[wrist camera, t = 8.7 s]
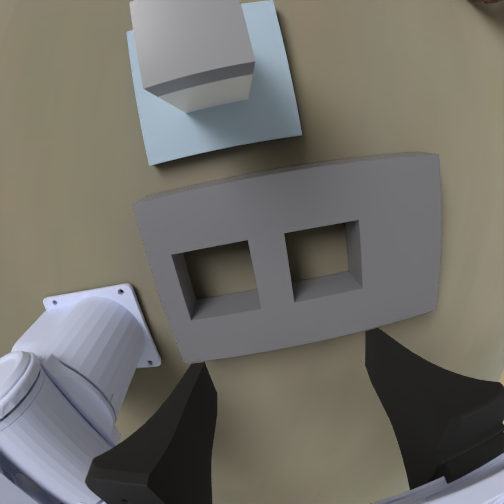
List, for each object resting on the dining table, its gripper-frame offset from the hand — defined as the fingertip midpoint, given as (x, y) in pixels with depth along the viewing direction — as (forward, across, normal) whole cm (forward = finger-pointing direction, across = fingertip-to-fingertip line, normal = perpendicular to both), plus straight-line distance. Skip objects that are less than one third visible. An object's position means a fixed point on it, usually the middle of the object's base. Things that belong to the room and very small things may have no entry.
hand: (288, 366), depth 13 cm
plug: (+9, +1, -14) cm, 17 cm away
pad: (+10, +1, -14) cm, 18 cm away
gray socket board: (+10, -2, -1) cm, 11 cm away
